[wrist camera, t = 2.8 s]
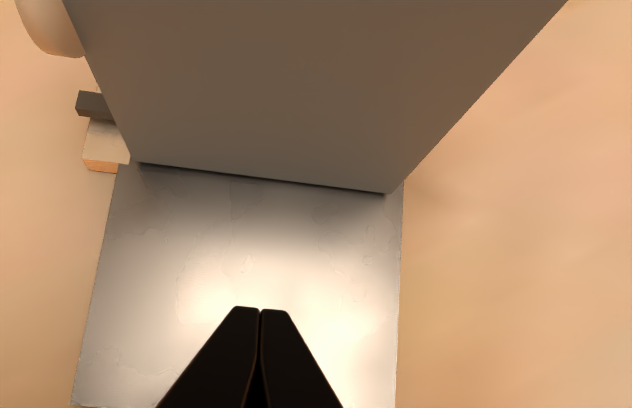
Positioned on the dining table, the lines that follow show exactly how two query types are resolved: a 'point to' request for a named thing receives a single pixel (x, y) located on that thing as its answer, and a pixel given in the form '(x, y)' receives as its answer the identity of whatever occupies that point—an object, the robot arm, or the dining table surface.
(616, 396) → the dining table surface
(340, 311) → the base
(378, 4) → the gauge carriage
